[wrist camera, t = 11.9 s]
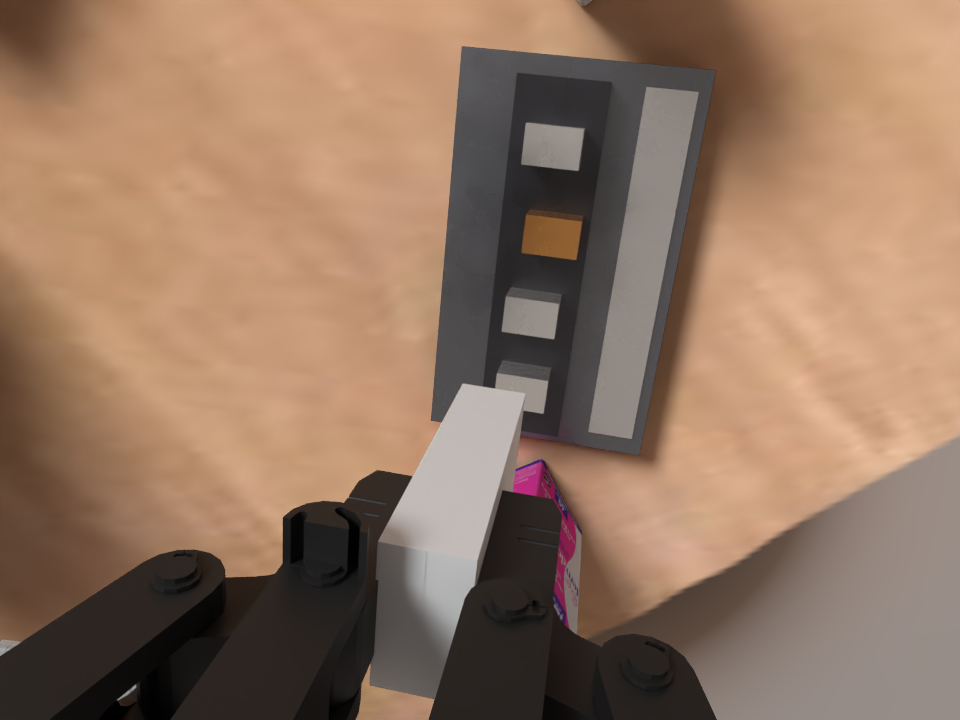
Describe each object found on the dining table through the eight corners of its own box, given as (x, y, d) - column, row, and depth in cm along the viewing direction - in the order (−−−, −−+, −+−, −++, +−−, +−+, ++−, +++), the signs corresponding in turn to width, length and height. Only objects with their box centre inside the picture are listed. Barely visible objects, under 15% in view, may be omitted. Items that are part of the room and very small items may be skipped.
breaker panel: (637, 440, 41) (641, 486, 36) (438, 407, 42) (415, 446, 37) (710, 73, 34) (728, 65, 29) (469, 50, 36) (446, 38, 30)
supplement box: (586, 531, 43) (579, 665, 33) (503, 560, 45) (470, 697, 35) (545, 454, 42) (524, 567, 32) (461, 487, 44) (414, 604, 33)
